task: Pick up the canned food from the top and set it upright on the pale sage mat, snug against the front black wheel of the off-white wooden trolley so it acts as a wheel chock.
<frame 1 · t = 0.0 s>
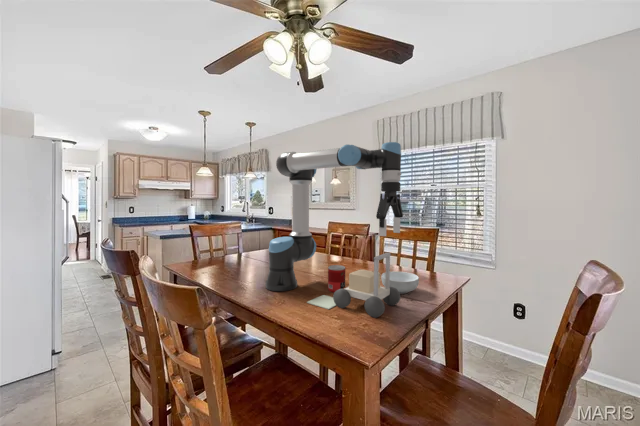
hand: (389, 234, 113), 28 cm above the table, tool pointing down, fingers open, 13 cm apart
trolley: (366, 305, 110), on the table
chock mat: (325, 302, 114), on the table
cereal bowl: (399, 291, 129), on the table
canned food: (336, 290, 129), on the table
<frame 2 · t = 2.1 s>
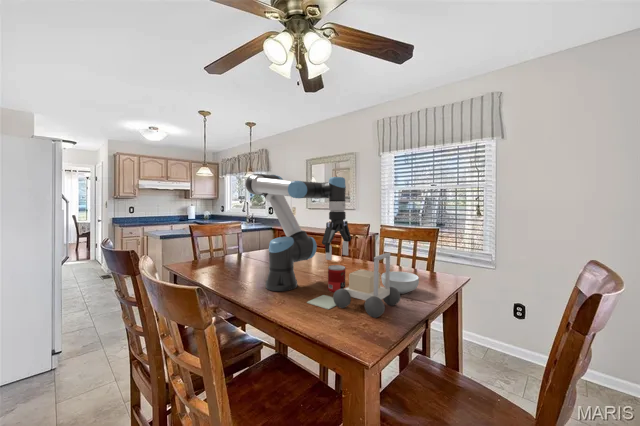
hand: (337, 257, 128), 15 cm above the table, tool pointing down, fingers open, 13 cm apart
nothing on the table moved.
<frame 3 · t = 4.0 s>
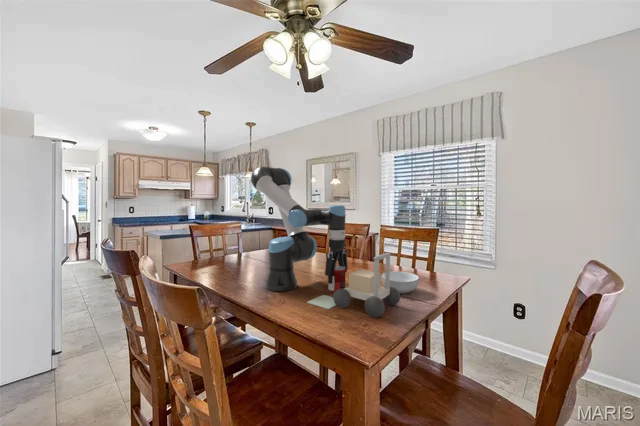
hand: (336, 287, 128), 1 cm above the table, tool pointing down, fingers closed on canned food, 8 cm apart
canned food: (336, 290, 128), on the table, touching gripper
everything else where it was.
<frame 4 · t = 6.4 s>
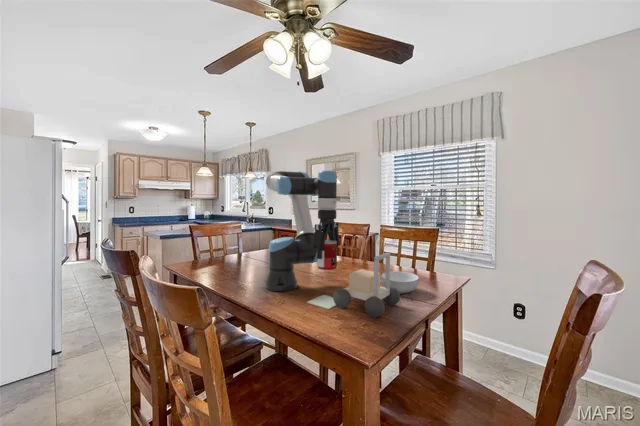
hand: (327, 264, 114), 15 cm above the table, tool pointing down, fingers closed on canned food, 8 cm apart
canned food: (327, 268, 114), point 14 cm above the table, touching gripper
everything else where it was.
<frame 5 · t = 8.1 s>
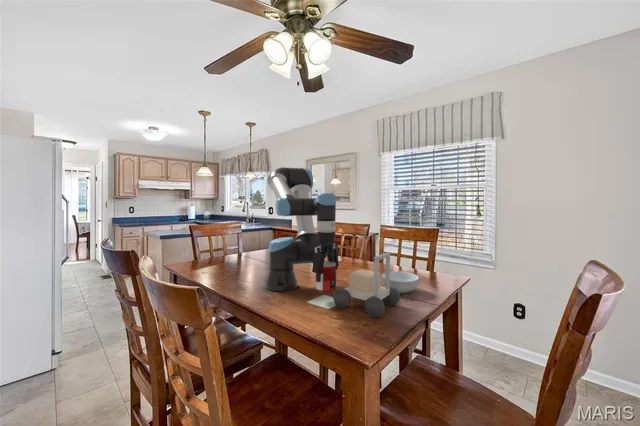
hand: (326, 286, 113), 6 cm above the table, tool pointing down, fingers closed on canned food, 8 cm apart
canned food: (326, 290, 113), point 5 cm above the table, touching gripper
everything else where it was.
when the fingers open (3 cm above the table, at t = 9.3 s): canned food moves 1 cm, resting on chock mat.
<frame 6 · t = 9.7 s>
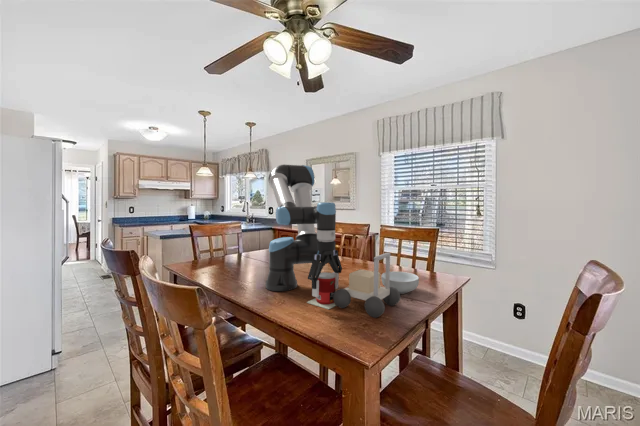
hand: (325, 292, 113), 4 cm above the table, tool pointing down, fingers open, 13 cm apart
canned food: (325, 301, 113), resting on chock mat
everything else where it was.
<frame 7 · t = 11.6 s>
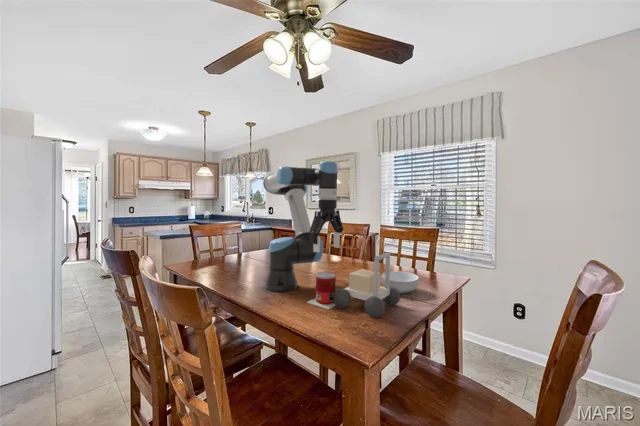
hand: (326, 249, 117), 21 cm above the table, tool pointing down, fingers open, 13 cm apart
nothing on the table moved.
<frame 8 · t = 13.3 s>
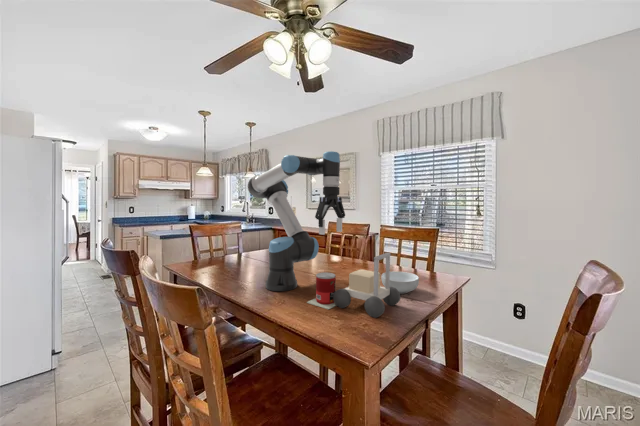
hand: (330, 233, 127), 27 cm above the table, tool pointing down, fingers open, 13 cm apart
nothing on the table moved.
at the end: canned food inside the target area on the table beside the trolley (1.0 cm from its centre), resting on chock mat; canned food tilted 0°; the gripper is holding nothing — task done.
